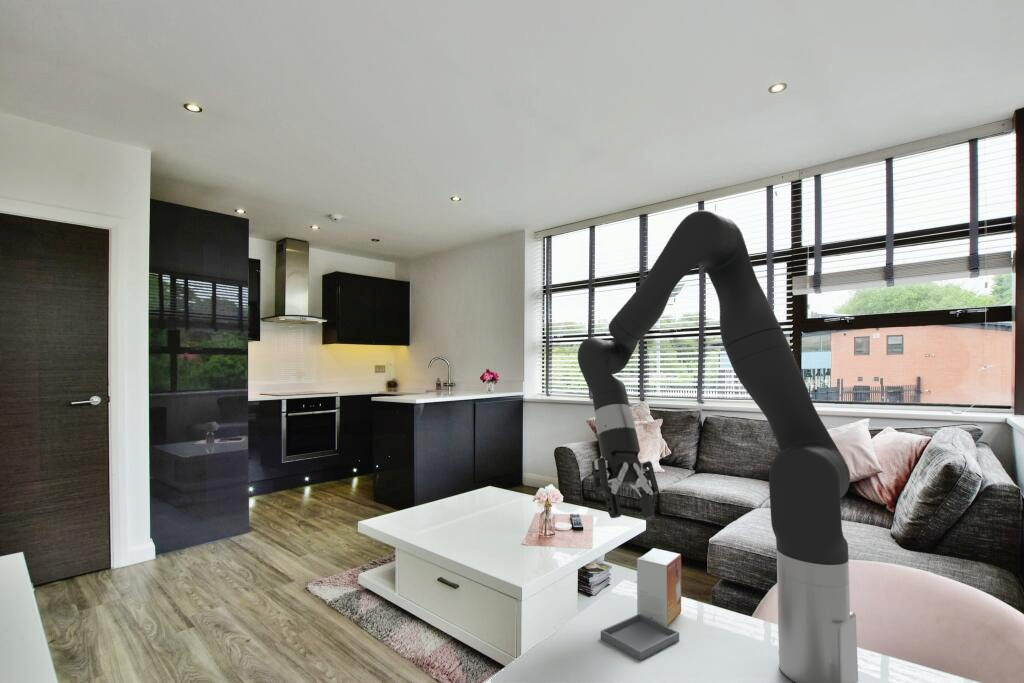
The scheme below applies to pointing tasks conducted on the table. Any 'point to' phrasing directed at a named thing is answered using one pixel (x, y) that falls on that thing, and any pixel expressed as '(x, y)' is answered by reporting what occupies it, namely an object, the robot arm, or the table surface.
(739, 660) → the table surface
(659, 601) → the small box
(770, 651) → the table surface
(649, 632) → the tray
